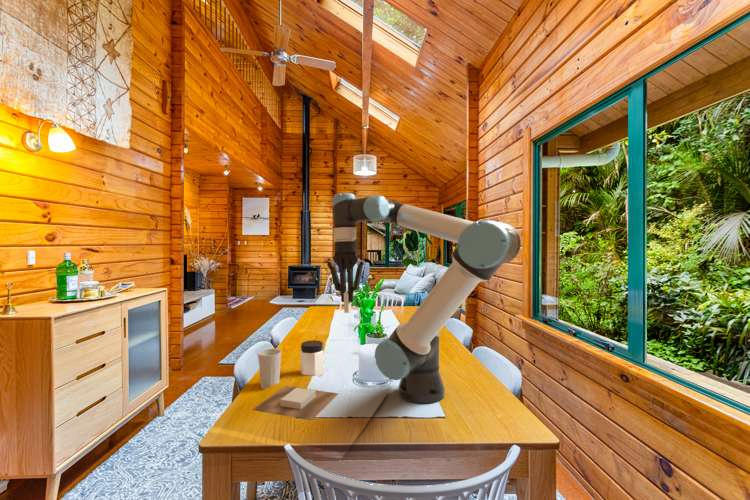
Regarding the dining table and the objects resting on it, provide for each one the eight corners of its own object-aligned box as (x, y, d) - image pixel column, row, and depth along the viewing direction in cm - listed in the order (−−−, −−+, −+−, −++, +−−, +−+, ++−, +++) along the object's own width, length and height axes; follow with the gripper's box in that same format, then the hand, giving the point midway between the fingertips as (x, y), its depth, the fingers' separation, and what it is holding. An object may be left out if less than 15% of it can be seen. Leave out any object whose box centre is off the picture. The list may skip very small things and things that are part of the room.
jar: (299, 372, 137) (298, 341, 137) (319, 368, 141) (319, 339, 140) (303, 380, 129) (303, 347, 129) (325, 376, 132) (325, 345, 132)
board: (338, 397, 115) (338, 393, 115) (311, 424, 98) (311, 420, 98) (285, 389, 121) (285, 385, 121) (251, 413, 104) (251, 409, 104)
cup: (275, 391, 120) (274, 356, 120) (253, 389, 121) (253, 354, 121) (285, 382, 128) (285, 349, 127) (265, 380, 129) (265, 348, 129)
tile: (315, 390, 112) (296, 387, 115) (300, 402, 104) (280, 399, 106) (315, 396, 112) (296, 393, 115) (300, 409, 104) (280, 406, 106)
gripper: (367, 240, 119) (369, 310, 119) (331, 241, 122) (333, 309, 122) (360, 240, 112) (363, 314, 112) (322, 241, 115) (325, 313, 115)
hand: (347, 311), depth 117 cm, fingers closed
